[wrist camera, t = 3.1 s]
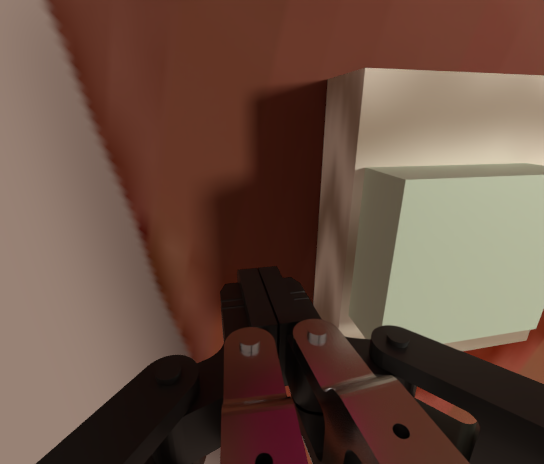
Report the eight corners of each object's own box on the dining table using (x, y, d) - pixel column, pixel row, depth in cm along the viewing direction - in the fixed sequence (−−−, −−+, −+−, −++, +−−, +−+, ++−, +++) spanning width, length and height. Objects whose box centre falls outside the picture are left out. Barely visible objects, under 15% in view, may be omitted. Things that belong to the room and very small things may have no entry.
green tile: (365, 167, 14) (405, 180, 11) (525, 163, 16) (595, 172, 13) (348, 315, 17) (377, 354, 14) (486, 297, 18) (535, 328, 16)
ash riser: (327, 79, 16) (365, 67, 12) (541, 86, 19) (623, 79, 15) (311, 329, 22) (334, 373, 18) (477, 306, 24) (526, 340, 21)
